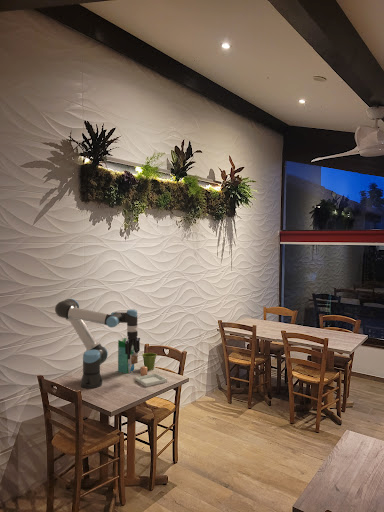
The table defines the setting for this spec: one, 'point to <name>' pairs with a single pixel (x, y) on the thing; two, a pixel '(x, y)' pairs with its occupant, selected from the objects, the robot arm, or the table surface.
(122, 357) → the milk carton
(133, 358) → the walnut cube
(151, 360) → the plant pot
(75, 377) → the table surface
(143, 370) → the terracotta cylinder
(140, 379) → the pale grey tray
